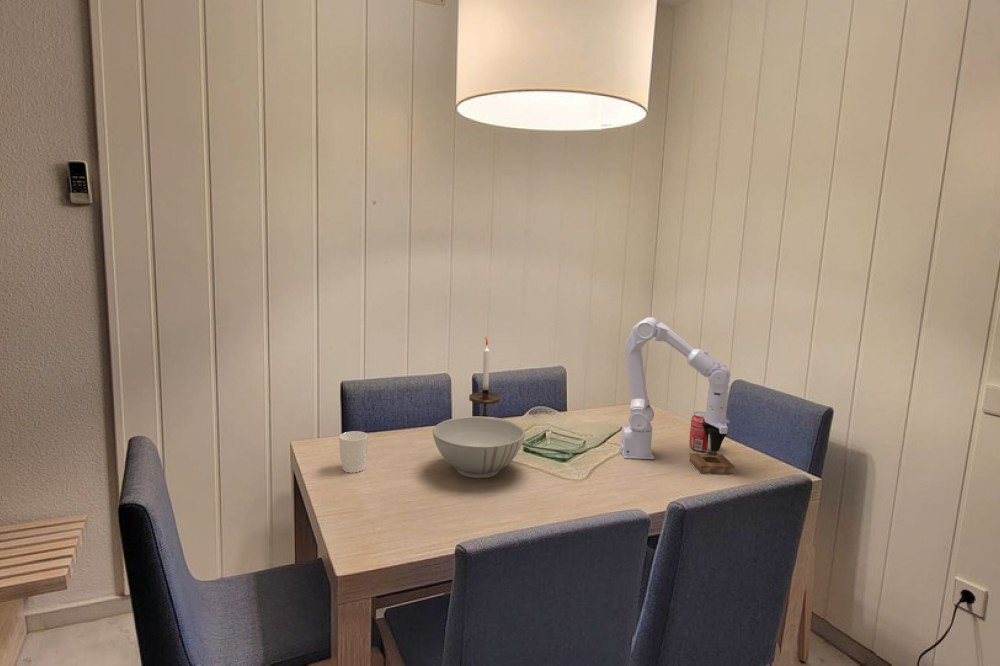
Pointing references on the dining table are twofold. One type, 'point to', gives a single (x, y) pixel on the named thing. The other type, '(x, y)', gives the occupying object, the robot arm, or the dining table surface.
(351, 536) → the dining table surface
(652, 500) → the dining table surface
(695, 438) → the soda can
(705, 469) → the hole block
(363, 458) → the white cup
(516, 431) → the decorative bowl
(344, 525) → the dining table surface
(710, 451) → the pin
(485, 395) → the candlestick
